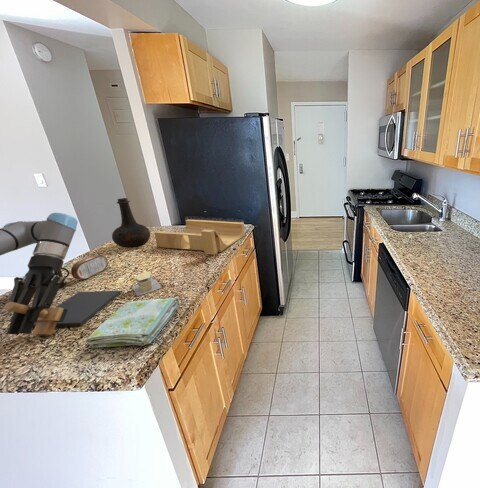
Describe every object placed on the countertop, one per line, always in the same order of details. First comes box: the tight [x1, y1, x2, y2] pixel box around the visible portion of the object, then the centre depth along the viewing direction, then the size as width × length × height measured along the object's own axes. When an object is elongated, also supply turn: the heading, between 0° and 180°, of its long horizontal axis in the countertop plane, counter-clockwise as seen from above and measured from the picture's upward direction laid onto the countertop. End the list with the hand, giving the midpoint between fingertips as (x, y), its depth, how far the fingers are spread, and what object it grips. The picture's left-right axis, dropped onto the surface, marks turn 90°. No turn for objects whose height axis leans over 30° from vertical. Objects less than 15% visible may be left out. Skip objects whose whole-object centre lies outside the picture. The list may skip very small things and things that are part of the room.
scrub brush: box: [3, 301, 68, 323], centre depth 79 cm, size 8×4×14 cm
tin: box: [70, 254, 109, 280], centre depth 118 cm, size 15×3×8 cm, turn 172°
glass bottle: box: [111, 197, 151, 249], centre depth 148 cm, size 18×18×28 cm
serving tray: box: [33, 290, 122, 328], centre depth 96 cm, size 16×20×1 cm
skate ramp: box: [153, 216, 246, 259], centre depth 154 cm, size 40×35×16 cm
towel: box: [84, 297, 180, 349], centre depth 86 cm, size 18×21×5 cm
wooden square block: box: [31, 321, 57, 336], centre depth 83 cm, size 4×4×2 cm
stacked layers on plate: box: [131, 271, 163, 297], centre depth 109 cm, size 10×9×6 cm
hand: (18, 333), depth 75 cm, fingers closed on scrub brush, 2 cm apart
